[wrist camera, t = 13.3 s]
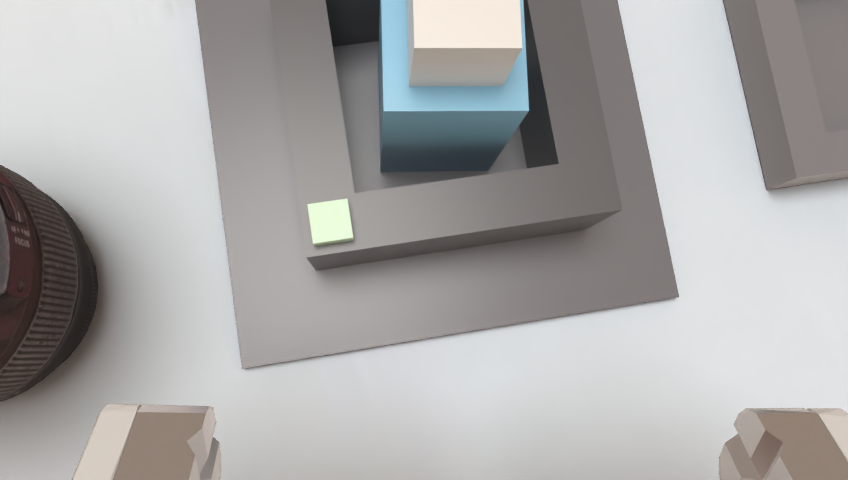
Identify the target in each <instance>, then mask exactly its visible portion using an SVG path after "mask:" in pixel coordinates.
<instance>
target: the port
mask: <svg viewBox="0 0 848 480" xmlns="http://www.w3.org/2000/svg"><path fill="white" fill-rule="evenodd" d="M523 2H524V22H525V42H526V61H527V81H528V100H529V111H528V113H527V114H526V116H525V117H524V119H523V120H522V122H521V123H520V125H519V126H518V128H517V129H516V131H515V132H514V133H513V135H512V136H511V138H510V139H509V141H508V142H507V144H506V145H505V147H504V148H503V150H502V151H501V153H500V154H499V156H498V157H497V159H496V160H495V162H494V163H493V164H492V166H491V167H490V169H489V170H488V171H423V172H380V132H379V84H378V55H379V17H380V0H195V3H196V11H197V19H198V26H199V34H200V42H201V50H202V58H203V66H204V73H205V81H206V89H207V97H208V105H209V113H210V120H211V128H212V136H213V144H214V152H215V160H216V168H217V175H218V183H219V191H220V199H221V207H222V215H223V222H224V230H225V238H226V246H227V254H228V262H229V270H230V277H231V285H232V293H233V301H234V309H235V317H236V324H237V332H238V340H239V348H240V356H241V364H242V369H243V368H249V367H255V366H261V365H268V364H274V363H280V362H286V361H292V360H298V359H304V358H310V357H316V356H322V355H328V354H335V353H341V352H347V351H353V350H359V349H365V348H371V347H377V346H383V345H389V344H395V343H402V342H408V341H414V340H420V339H426V338H432V337H438V336H444V335H450V334H456V333H462V332H469V331H475V330H481V329H487V328H493V327H499V326H505V325H511V324H517V323H523V322H529V321H536V320H542V319H548V318H554V317H560V316H566V315H572V314H578V313H584V312H590V311H596V310H602V309H609V308H615V307H621V306H627V305H633V304H639V303H645V302H651V301H657V300H663V299H669V298H676V297H679V294H678V290H677V285H676V280H675V275H674V270H673V266H672V261H671V256H670V251H669V246H668V241H667V237H666V232H665V227H664V222H663V217H662V213H661V208H660V203H659V198H658V193H657V189H656V184H655V179H654V174H653V169H652V165H651V160H650V155H649V150H648V145H647V141H646V136H645V131H644V126H643V121H642V117H641V112H640V107H639V102H638V97H637V93H636V88H635V83H634V78H633V73H632V69H631V64H630V59H629V54H628V49H627V45H626V40H625V35H624V30H623V25H622V21H621V16H620V11H619V6H618V1H617V0H523Z"/></svg>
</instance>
